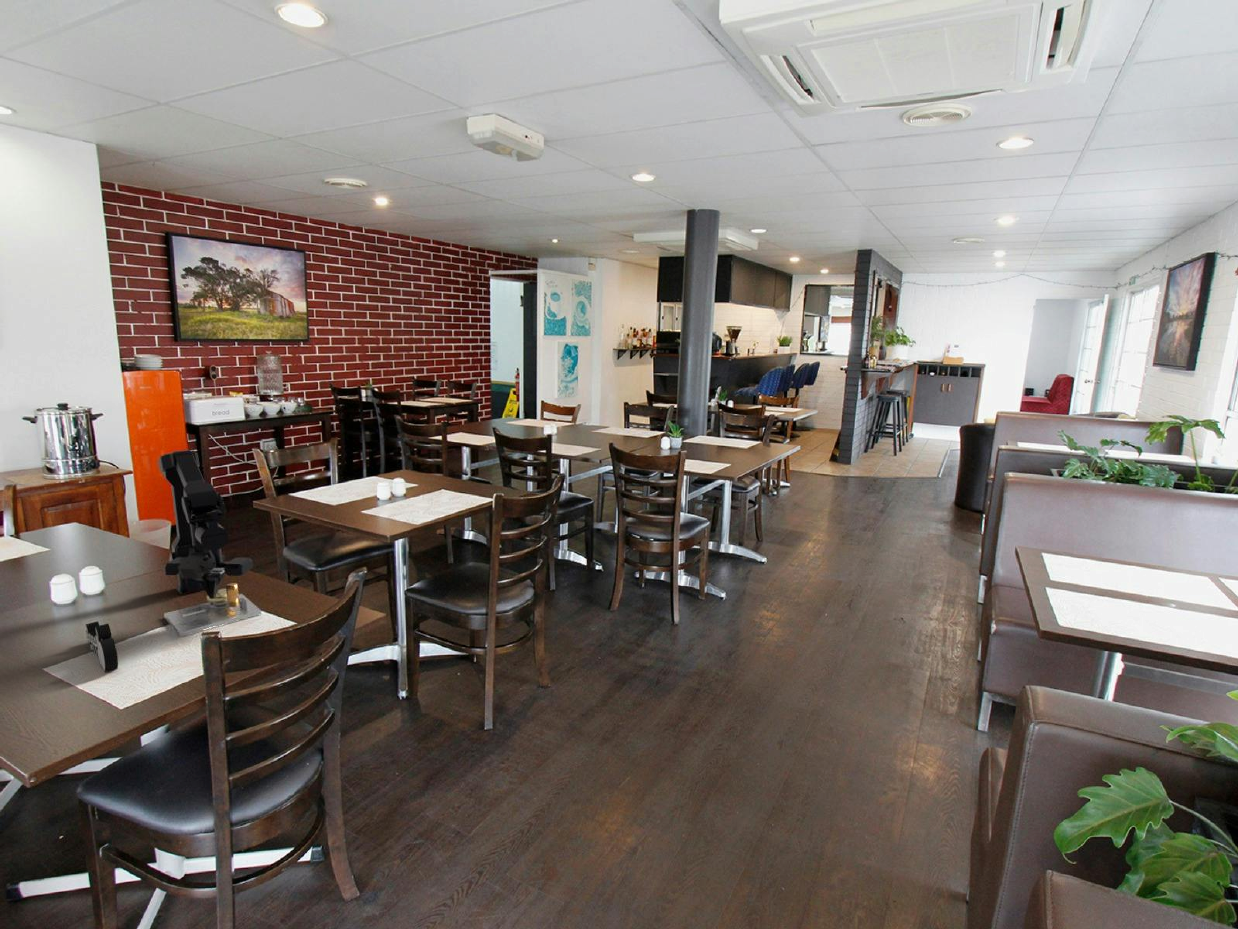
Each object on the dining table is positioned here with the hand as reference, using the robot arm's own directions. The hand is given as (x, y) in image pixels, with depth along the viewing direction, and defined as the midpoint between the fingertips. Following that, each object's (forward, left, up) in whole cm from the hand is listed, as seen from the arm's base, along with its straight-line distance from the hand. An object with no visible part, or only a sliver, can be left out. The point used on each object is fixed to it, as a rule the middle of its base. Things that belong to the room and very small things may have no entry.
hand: (212, 598), depth 162 cm
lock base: (-3, 0, -6) cm, 7 cm away
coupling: (-3, +4, -3) cm, 5 cm away
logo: (+3, -23, -6) cm, 24 cm away
